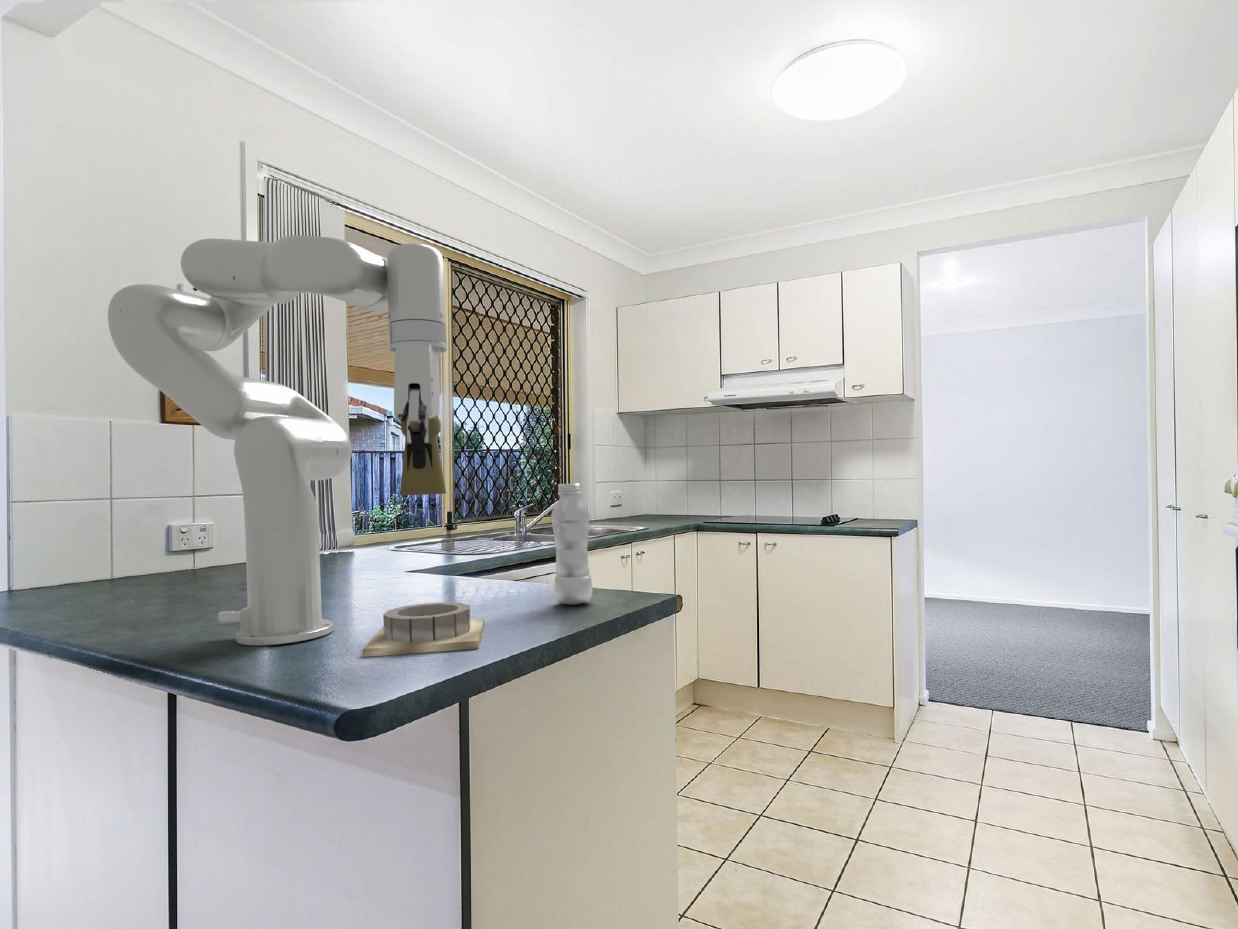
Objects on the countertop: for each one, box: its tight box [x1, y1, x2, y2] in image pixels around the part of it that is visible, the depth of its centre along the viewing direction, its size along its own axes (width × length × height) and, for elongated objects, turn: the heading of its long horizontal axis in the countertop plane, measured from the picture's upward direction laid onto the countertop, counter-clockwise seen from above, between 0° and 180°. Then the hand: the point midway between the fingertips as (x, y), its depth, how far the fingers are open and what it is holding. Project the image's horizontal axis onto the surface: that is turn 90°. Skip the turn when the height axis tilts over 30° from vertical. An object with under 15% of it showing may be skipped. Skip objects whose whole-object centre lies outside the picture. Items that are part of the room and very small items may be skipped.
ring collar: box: [362, 601, 485, 658], centre depth 94 cm, size 14×14×4 cm
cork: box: [399, 414, 447, 496], centre depth 94 cm, size 6×6×11 cm
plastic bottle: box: [550, 483, 594, 606], centre depth 116 cm, size 6×7×20 cm
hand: (422, 473), depth 94 cm, fingers closed on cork, 3 cm apart
